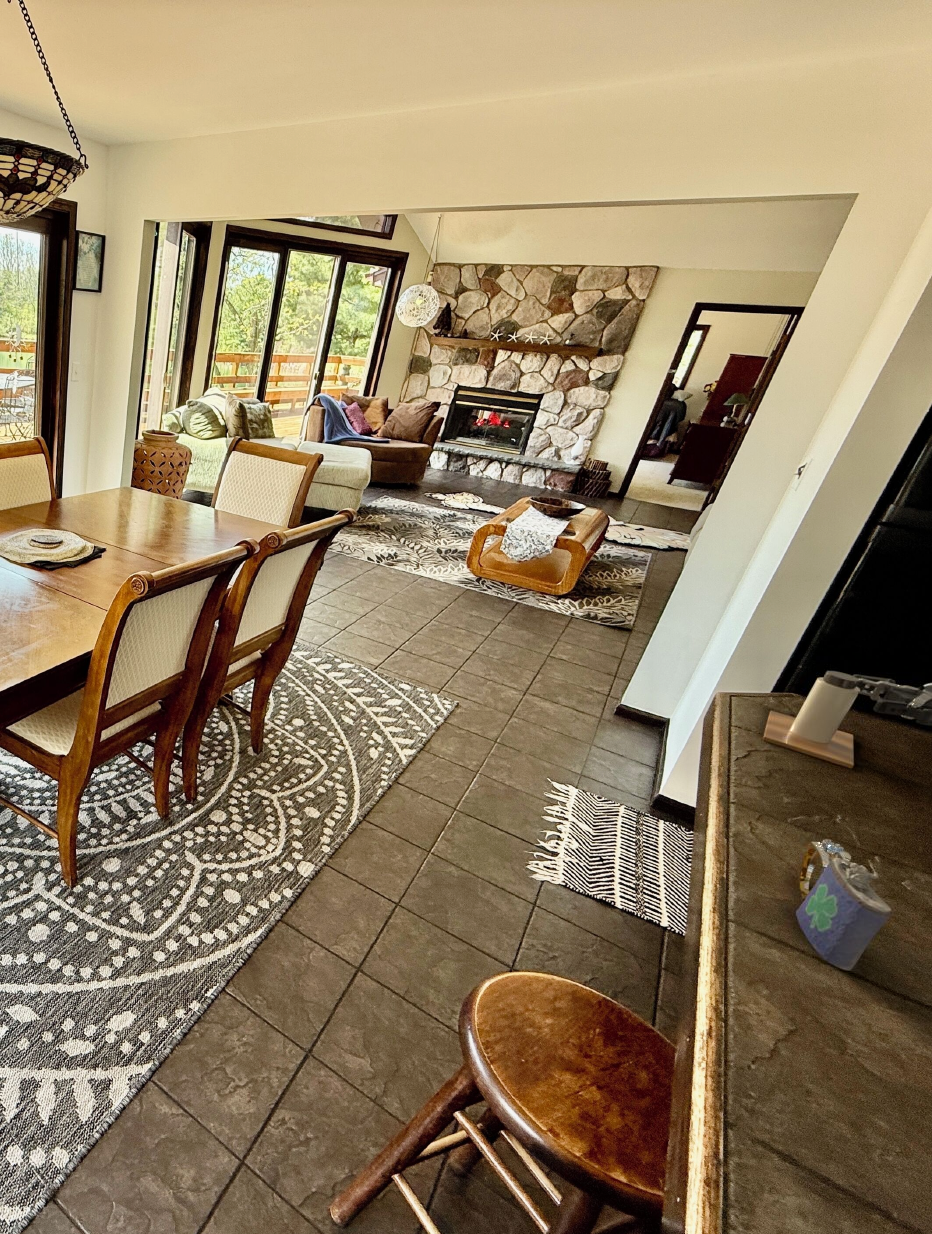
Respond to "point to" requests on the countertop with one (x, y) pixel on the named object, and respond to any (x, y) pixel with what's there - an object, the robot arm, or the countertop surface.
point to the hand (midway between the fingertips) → (855, 694)
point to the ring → (809, 861)
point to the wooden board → (809, 741)
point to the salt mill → (826, 707)
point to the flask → (842, 913)
